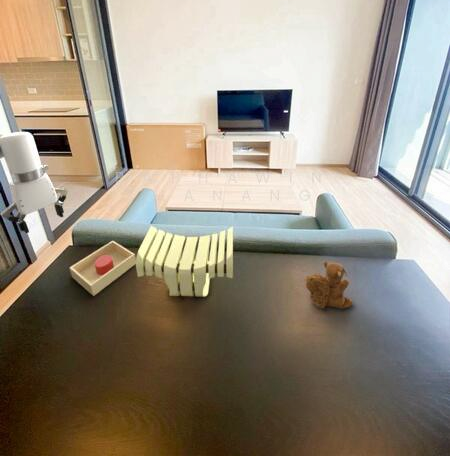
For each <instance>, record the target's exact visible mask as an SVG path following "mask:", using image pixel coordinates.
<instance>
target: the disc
mask: <svg viewBox="0 0 450 456" xmlns="http://www.w3.org/2000/svg"><path fill="white" fill-rule="evenodd" d="M94 264H95V268H96V272H97V274H98V275H104V274H106V273H107V272H109V271H110V270H111V269H113V268H114V265H113V260H112V257H111V256H110V255H103V256H101V257H99V258H98V259H96V261H95V263H94Z"/></svg>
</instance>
